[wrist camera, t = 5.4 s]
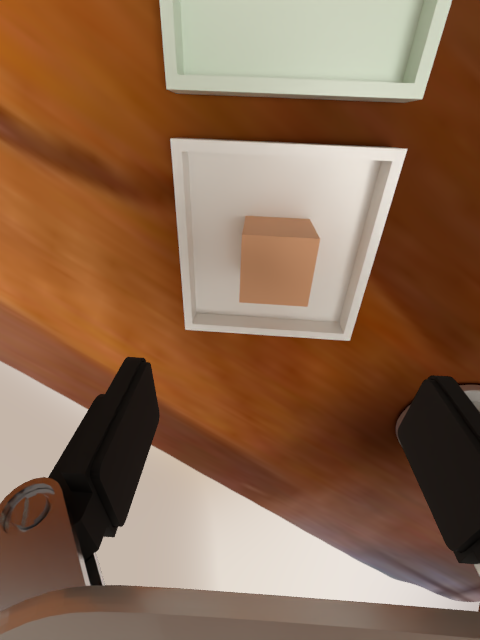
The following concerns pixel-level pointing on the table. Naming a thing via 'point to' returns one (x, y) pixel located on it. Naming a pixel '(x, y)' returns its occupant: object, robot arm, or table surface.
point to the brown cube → (277, 260)
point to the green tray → (302, 48)
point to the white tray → (285, 202)
